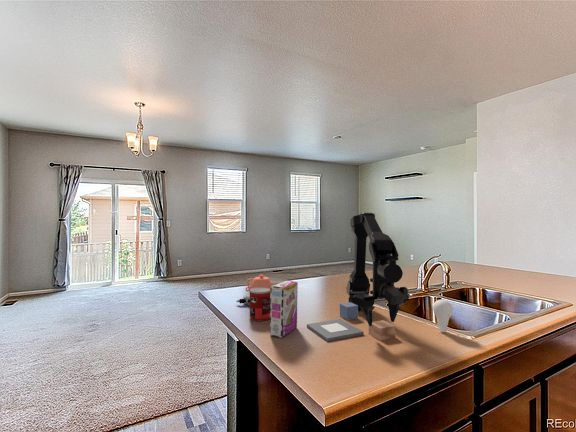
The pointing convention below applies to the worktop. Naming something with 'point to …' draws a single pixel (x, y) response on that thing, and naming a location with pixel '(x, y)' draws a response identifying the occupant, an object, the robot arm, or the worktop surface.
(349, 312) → the blue cube
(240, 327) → the worktop surface
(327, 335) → the board
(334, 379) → the worktop surface
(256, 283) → the sugar bowl
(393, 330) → the terracotta block
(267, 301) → the canned food
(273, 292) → the candy bar box
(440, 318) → the lightbulb
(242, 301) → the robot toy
